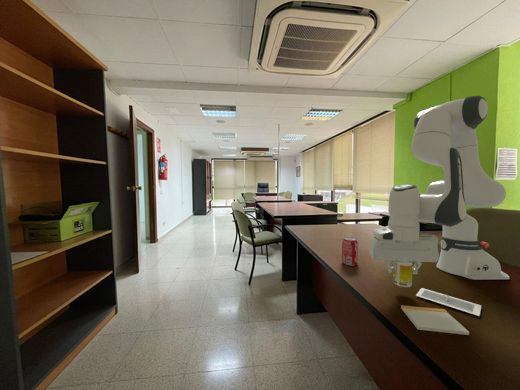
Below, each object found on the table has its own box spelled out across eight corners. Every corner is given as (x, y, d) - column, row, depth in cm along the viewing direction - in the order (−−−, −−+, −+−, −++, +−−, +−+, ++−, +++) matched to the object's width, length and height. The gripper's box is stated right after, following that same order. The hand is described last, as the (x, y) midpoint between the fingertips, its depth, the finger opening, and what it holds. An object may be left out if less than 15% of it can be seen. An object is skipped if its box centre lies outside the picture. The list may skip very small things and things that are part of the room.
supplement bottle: (415, 285, 73) (416, 256, 73) (405, 289, 71) (406, 258, 70) (398, 278, 78) (399, 251, 78) (389, 282, 76) (389, 253, 75)
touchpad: (479, 319, 61) (479, 312, 61) (415, 298, 73) (415, 292, 72) (481, 309, 67) (481, 302, 66) (421, 290, 78) (421, 284, 78)
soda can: (355, 261, 105) (355, 236, 105) (360, 266, 98) (360, 240, 98) (339, 260, 106) (340, 236, 105) (344, 266, 99) (344, 240, 98)
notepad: (444, 312, 64) (444, 309, 64) (469, 335, 55) (469, 331, 55) (401, 308, 66) (401, 305, 66) (417, 329, 57) (417, 325, 57)
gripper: (432, 231, 75) (431, 270, 76) (368, 230, 78) (367, 267, 79) (444, 236, 68) (442, 278, 69) (374, 234, 72) (373, 275, 73)
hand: (402, 272), depth 74 cm, fingers closed on supplement bottle, 6 cm apart
